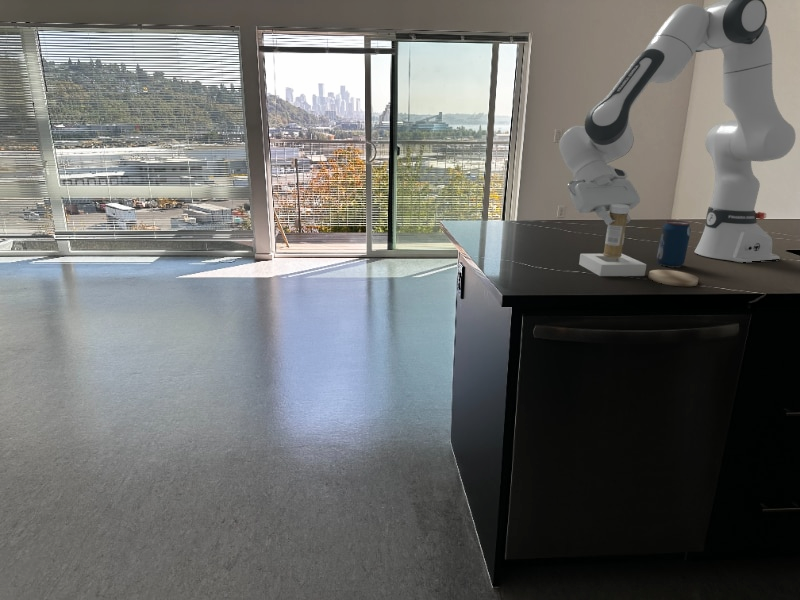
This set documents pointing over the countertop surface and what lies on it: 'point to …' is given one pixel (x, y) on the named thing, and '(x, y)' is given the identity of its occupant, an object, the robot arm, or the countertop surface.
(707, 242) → the robot arm
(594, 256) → the collar
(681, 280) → the disc
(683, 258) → the soda can
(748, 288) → the countertop surface
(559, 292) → the countertop surface
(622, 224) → the sprinkles bottle
